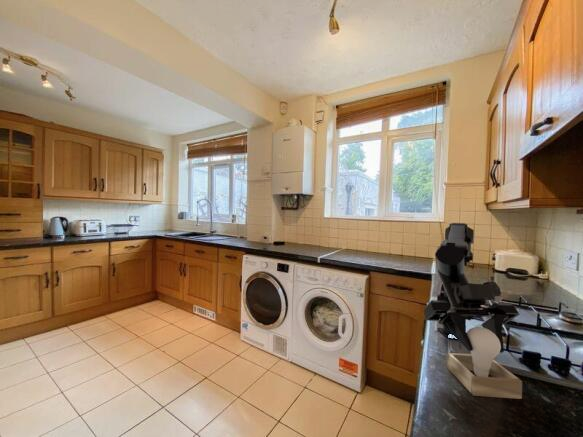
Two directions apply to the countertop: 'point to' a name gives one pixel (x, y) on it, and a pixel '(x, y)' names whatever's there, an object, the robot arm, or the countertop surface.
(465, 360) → the tray
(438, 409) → the countertop surface
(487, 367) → the lightbulb
